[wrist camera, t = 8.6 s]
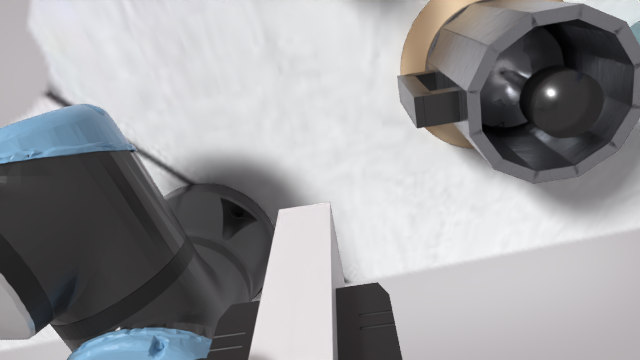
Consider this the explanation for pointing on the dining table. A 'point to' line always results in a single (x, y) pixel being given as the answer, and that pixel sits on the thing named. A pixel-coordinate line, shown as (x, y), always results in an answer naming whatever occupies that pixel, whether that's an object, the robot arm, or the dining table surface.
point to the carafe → (526, 139)
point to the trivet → (416, 48)
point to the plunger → (539, 89)
